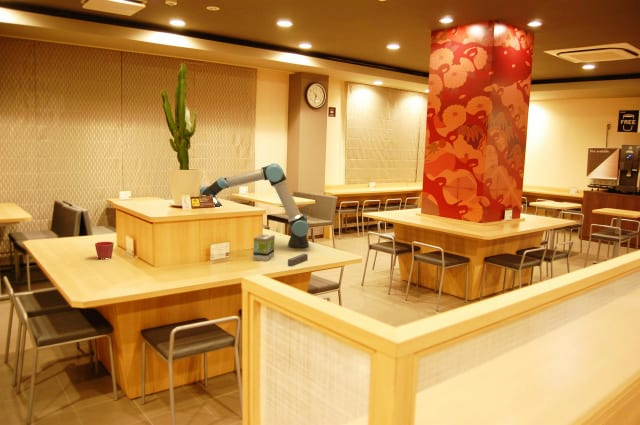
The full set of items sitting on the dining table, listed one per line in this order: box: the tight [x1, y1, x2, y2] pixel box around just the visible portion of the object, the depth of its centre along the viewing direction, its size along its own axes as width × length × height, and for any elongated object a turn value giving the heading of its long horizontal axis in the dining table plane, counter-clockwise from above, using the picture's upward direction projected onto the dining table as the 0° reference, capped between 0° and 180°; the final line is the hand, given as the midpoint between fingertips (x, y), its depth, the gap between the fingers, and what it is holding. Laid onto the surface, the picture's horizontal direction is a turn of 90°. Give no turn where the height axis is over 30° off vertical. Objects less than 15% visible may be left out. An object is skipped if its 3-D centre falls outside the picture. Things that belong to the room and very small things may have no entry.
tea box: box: [252, 234, 276, 262], centre depth 329 cm, size 15×10×15 cm, turn 168°
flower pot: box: [94, 241, 115, 259], centre depth 320 cm, size 11×11×10 cm
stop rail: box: [287, 253, 309, 267], centre depth 320 cm, size 20×3×4 cm, turn 153°
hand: (235, 232), depth 338 cm, fingers closed
